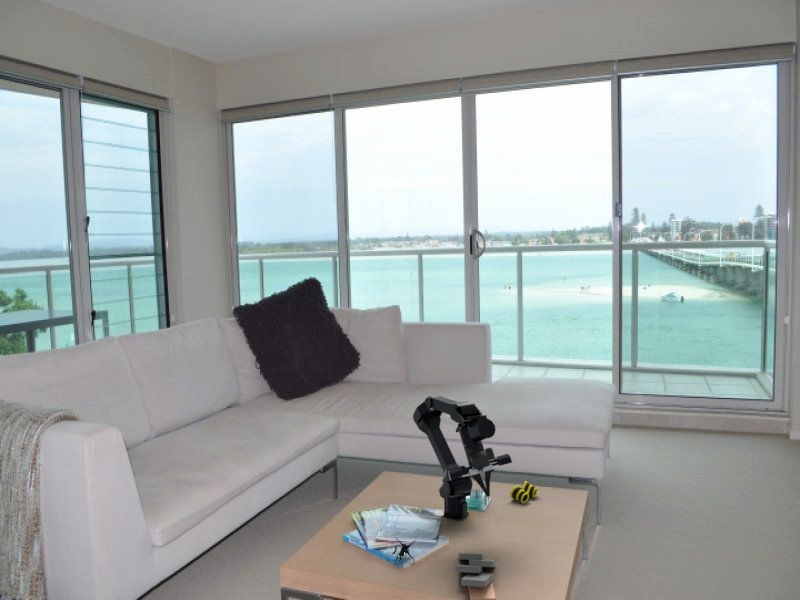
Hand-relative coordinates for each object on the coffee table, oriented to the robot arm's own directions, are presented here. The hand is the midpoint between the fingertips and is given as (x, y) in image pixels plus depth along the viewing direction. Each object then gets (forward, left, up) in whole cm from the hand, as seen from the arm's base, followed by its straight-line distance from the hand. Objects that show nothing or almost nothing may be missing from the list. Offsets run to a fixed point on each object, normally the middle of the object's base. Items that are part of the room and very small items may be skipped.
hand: (488, 496), depth 192 cm
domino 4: (+12, -24, -10) cm, 29 cm away
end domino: (+13, -25, -11) cm, 30 cm away
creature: (-11, -27, -12) cm, 32 cm away
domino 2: (+8, -17, -11) cm, 22 cm away
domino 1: (+3, -15, -11) cm, 19 cm away
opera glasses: (-5, +31, -12) cm, 33 cm away
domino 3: (+7, -21, -11) cm, 25 cm away
